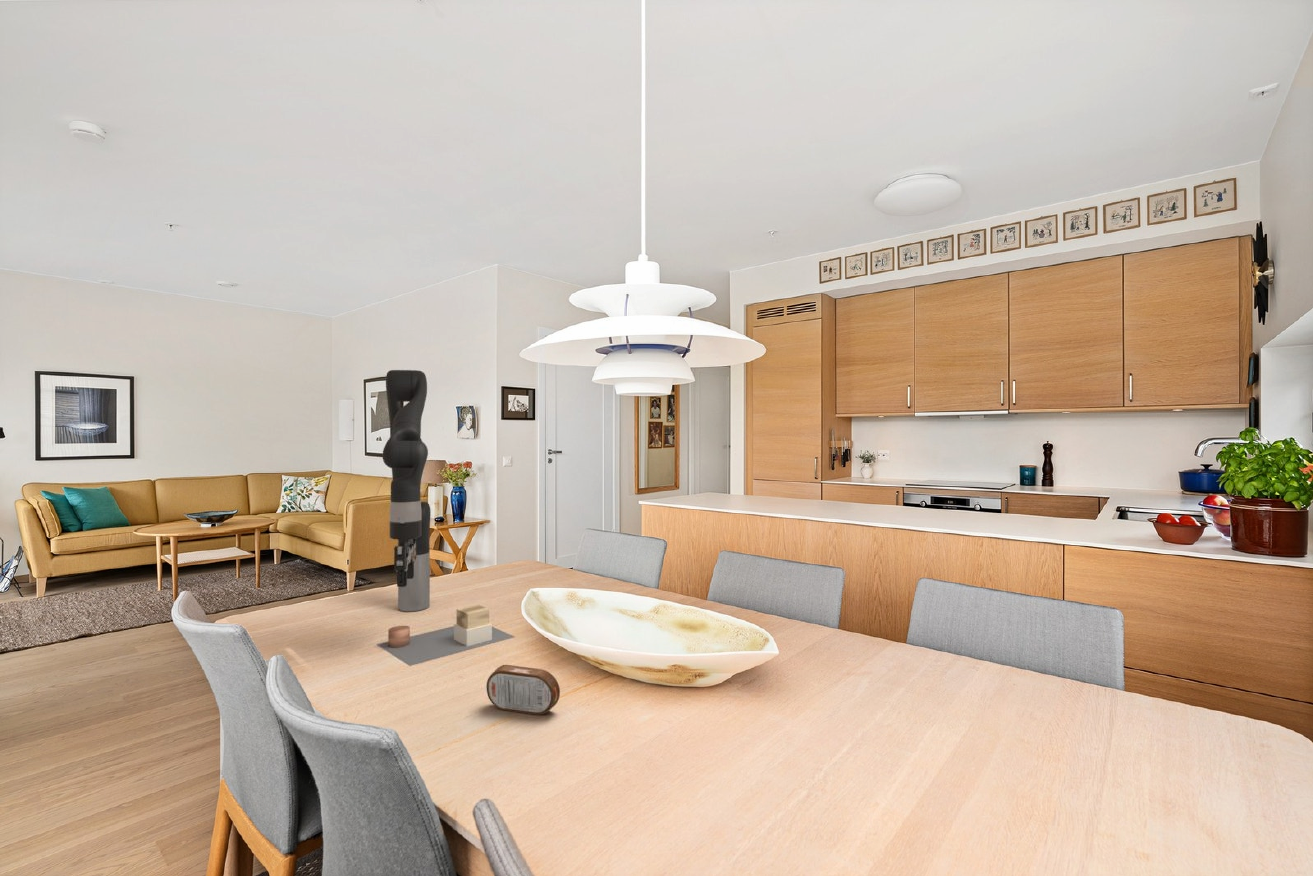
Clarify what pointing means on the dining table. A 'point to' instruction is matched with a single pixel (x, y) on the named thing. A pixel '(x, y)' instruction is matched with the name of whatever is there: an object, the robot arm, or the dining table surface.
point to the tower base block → (472, 634)
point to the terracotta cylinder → (399, 636)
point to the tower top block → (472, 616)
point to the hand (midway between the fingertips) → (405, 582)
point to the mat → (437, 645)
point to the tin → (523, 689)
